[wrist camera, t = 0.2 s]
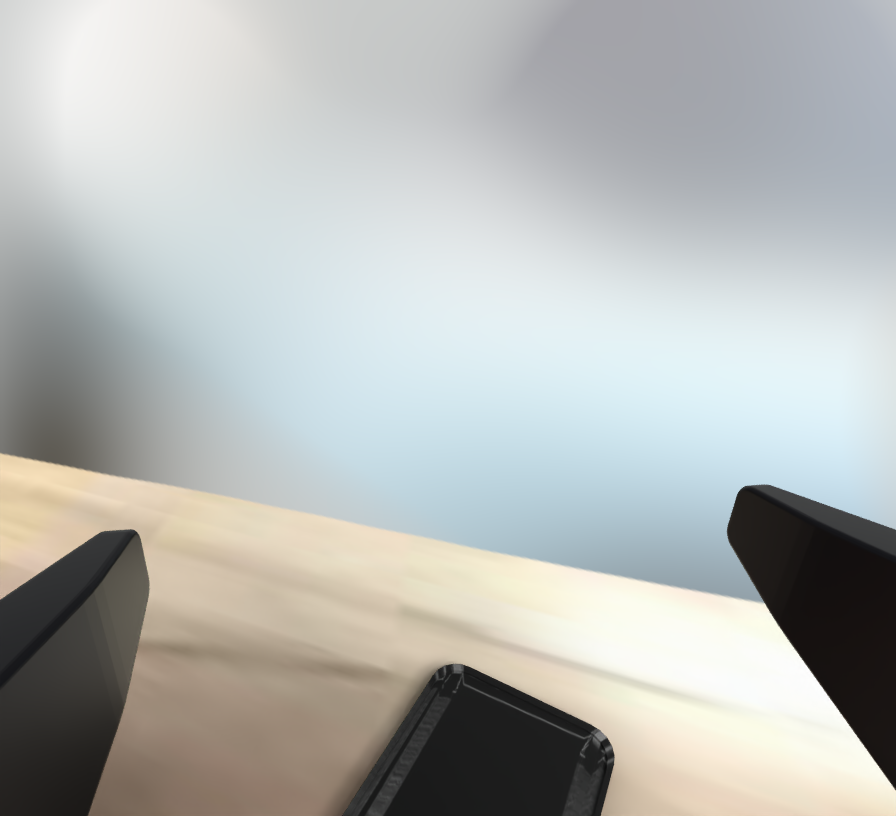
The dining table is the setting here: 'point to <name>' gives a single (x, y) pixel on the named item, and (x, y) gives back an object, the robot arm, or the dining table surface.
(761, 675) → the dining table surface
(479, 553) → the dining table surface
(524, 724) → the phone
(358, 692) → the dining table surface
